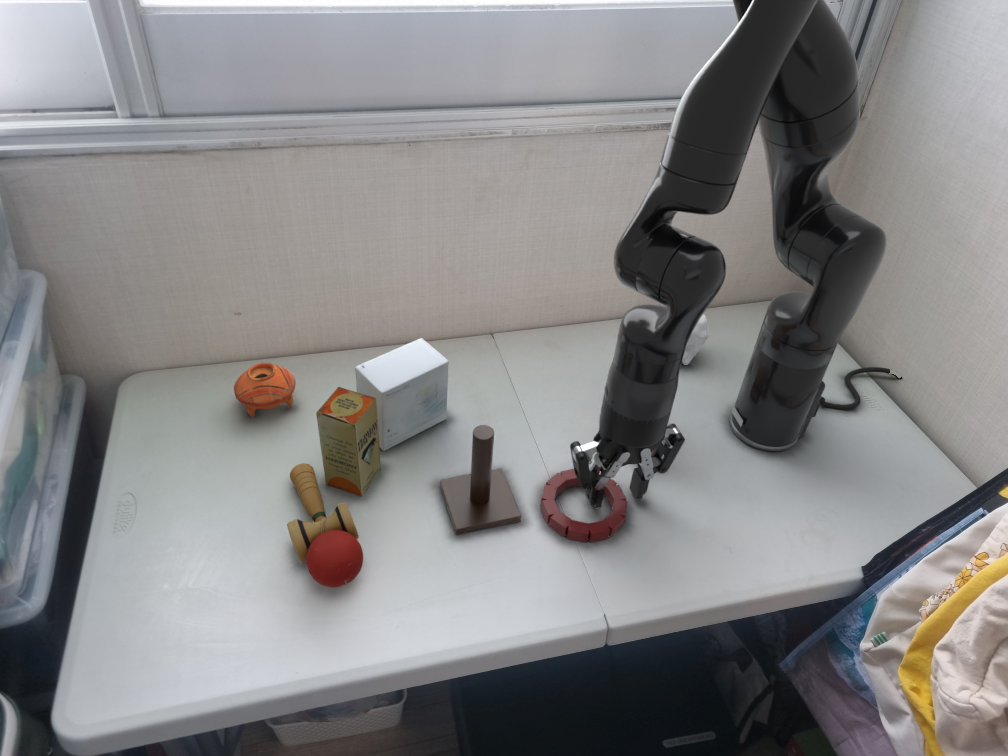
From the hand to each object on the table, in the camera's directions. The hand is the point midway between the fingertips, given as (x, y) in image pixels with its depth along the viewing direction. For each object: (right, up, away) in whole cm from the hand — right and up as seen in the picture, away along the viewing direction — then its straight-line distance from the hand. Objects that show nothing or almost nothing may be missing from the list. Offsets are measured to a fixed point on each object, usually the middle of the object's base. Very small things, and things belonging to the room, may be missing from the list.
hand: (615, 498), depth 94 cm
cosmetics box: (-27, +9, +9) cm, 30 cm away
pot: (-46, +11, +10) cm, 48 cm away
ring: (-4, -1, -1) cm, 4 cm away
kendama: (-35, -3, -6) cm, 36 cm away
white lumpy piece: (+10, +18, +23) cm, 31 cm away
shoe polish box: (-32, +2, +1) cm, 33 cm away
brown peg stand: (-17, 0, -1) cm, 17 cm away
